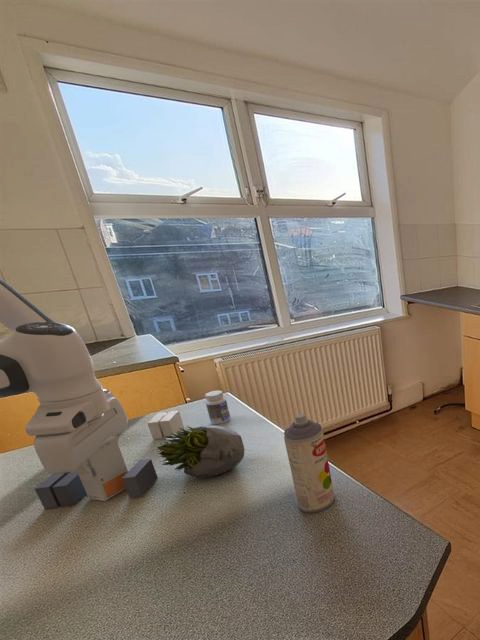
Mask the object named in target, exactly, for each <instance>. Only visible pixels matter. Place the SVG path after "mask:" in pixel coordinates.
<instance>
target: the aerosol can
mask: <svg viewBox="0 0 480 640" xmlns="http://www.w3.org/2000/svg"><path fill="white" fill-rule="evenodd" d="M294 419H295V420H294V421H293V422H292V423H291V424H290V425H289V427H286V429H285V430H284V432H283V435H284V436H283V440H284V445H285V449H286V454H287V459H288V462H289V468H290V472H291V478H292V482H293V486H294V487H293V488H294V492H295V496H296V500H297V505H298V509H299V510H300V511H301V512H302V513H305V514H316V513H321V512H322V511H325V510H327V509H329V508H330V507H332V505H333V504H334V502H335V499H336V498H335V493H334V488H333V487H334V486H333V482H332V481H333V480H332V474H331V469H330V464H329V457H328V453H327V452H328V451H327V446H326V440H325V435H324V430H323V429H322V425H321V424H320V423H318V422H315V421H313V420H311V419H309V418H307V417H306V414H305V413H298V414H296V415H295V416H294Z"/></svg>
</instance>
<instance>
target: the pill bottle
mask: <svg viewBox="0 0 480 640" xmlns="http://www.w3.org/2000/svg"><path fill="white" fill-rule="evenodd" d="M204 396H205V406H206V410H207V413H208V416H209V421H210V423H211V424H214V425H218V424H219V425H220V424H225V423H227V422H228V421H230V420H231V414H230V411H229V406H228V401H227V399H226V397H225V396H224V392H223V391H222V390H212V391H209V392H207V393H205V394H204Z"/></svg>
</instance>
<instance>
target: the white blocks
mask: <svg viewBox="0 0 480 640" xmlns="http://www.w3.org/2000/svg"><path fill="white" fill-rule="evenodd" d="M146 423H147V424H146V425H147V427H148V430H149V432H150V436H151V438H152V440H153V441H154V440H155V441H156V440H163V439H167V437H166V436H167V435H170V436H171V435H172V434H171V433H173V434H177V433H176V432H177V431H182V430H181V429H180V428H182V429H184V428H185V425H184V423H183V419H182V415H181V413H180V410H171V411H163V412H162V411H161V412H157V413H156V414H155V415H154V416H153V417H152V418H151V419H149V421H147V422H146ZM179 427H180V428H179ZM120 434H121V431H120V432H119V433H118V434H117V435H118V436H119V435H120ZM177 435H178V434H177Z"/></svg>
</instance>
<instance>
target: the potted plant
mask: <svg viewBox="0 0 480 640" xmlns="http://www.w3.org/2000/svg"><path fill="white" fill-rule="evenodd" d="M186 427H187V429H184V428H183V429H182V428H180V427H179V428H180V429H181V431H177V432H176V433H177V434H173V433H171V434H172V435H171V436H170V435H167V436H166V437H167V438H163V439H162V440H164V442H160V443H159V445H160V446H157V447H156V449H157V450H159V451H158V453H157V455H158V456H157V457H159V458H164V459H162V460H161V461H159V462H162V465H163V466H175V465H178V466H177V467H175V468H174V470H176V471H177V472H178V471H181V470H183V473H184V474H185V475H188V476H190V477H191V478H194V479H201V478H208V477H214V476H219V475H223V474H224V473H226V472H228V471H230V470H232V469H233V468H235V467H237V466H238V465H239V464H241V462H242V460H243V459H244V457H245V446H244V442H243V439H242V436H241V434H240V433H238V431H235V430H232V429H230V428H227V427H224V426H218V425H212V424H210V425H203V426H196V427H191V426H189V425H186Z"/></svg>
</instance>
